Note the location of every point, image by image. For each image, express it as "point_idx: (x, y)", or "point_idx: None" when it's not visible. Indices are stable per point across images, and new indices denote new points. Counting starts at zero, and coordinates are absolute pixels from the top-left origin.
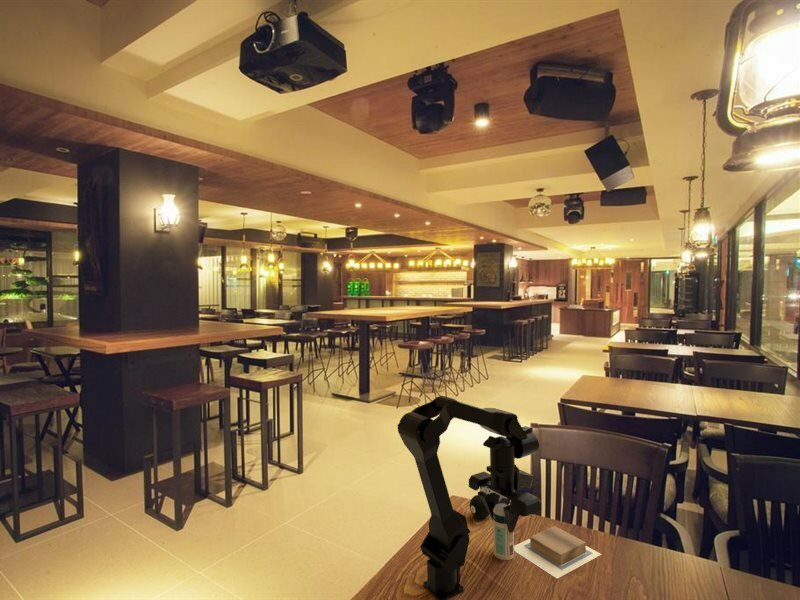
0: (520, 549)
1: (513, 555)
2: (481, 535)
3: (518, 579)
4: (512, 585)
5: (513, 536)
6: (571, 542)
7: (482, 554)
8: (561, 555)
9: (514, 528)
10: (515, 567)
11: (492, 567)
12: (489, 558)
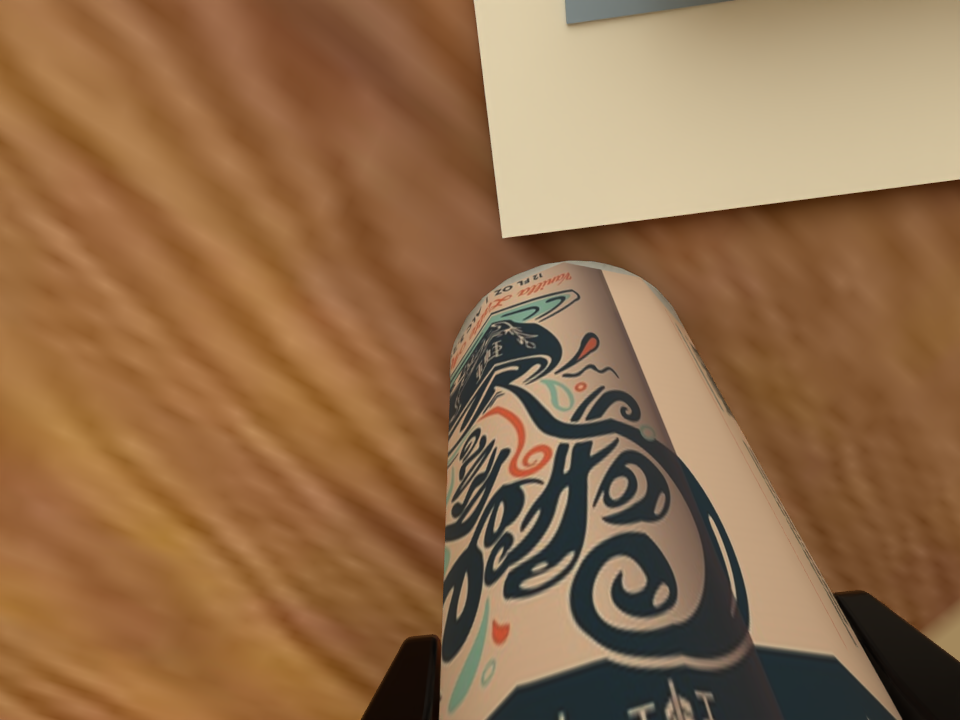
0: (604, 131)
1: (664, 307)
2: (74, 339)
3: (925, 448)
4: (936, 530)
5: (720, 424)
6: None
7: (428, 511)
8: None
9: (924, 639)
10: (782, 366)
11: None
12: None
